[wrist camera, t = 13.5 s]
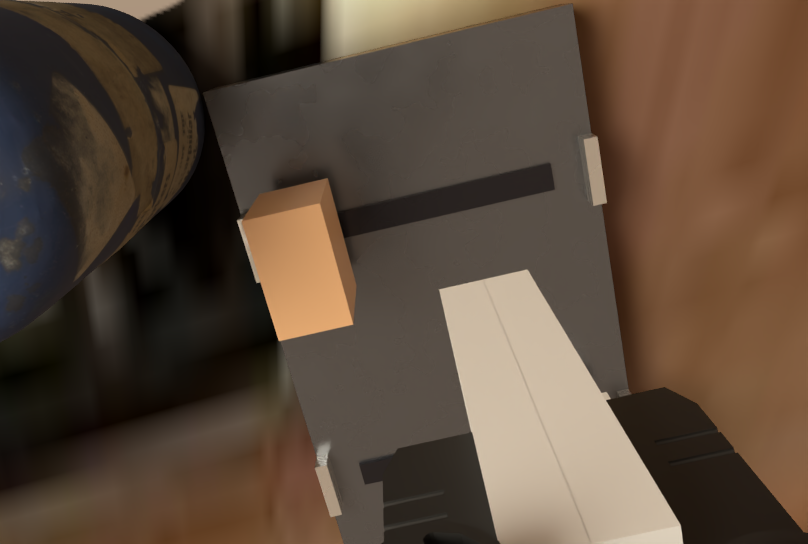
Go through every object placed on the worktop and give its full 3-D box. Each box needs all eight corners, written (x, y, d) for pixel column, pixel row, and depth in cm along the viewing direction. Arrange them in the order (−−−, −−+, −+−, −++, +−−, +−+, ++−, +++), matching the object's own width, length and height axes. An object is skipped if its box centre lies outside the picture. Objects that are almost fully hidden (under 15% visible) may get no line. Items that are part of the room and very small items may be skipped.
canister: (208, 226, 36) (53, 419, 19) (4, 203, 35) (-345, 382, 18) (217, 17, 33) (42, 23, 16) (-6, -13, 32) (-438, -39, 15)
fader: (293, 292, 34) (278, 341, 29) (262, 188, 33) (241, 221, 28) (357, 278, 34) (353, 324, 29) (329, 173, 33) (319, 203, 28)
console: (354, 547, 42) (352, 586, 39) (212, 88, 34) (197, 95, 31) (634, 488, 42) (652, 523, 39) (561, 3, 33) (578, 3, 30)
